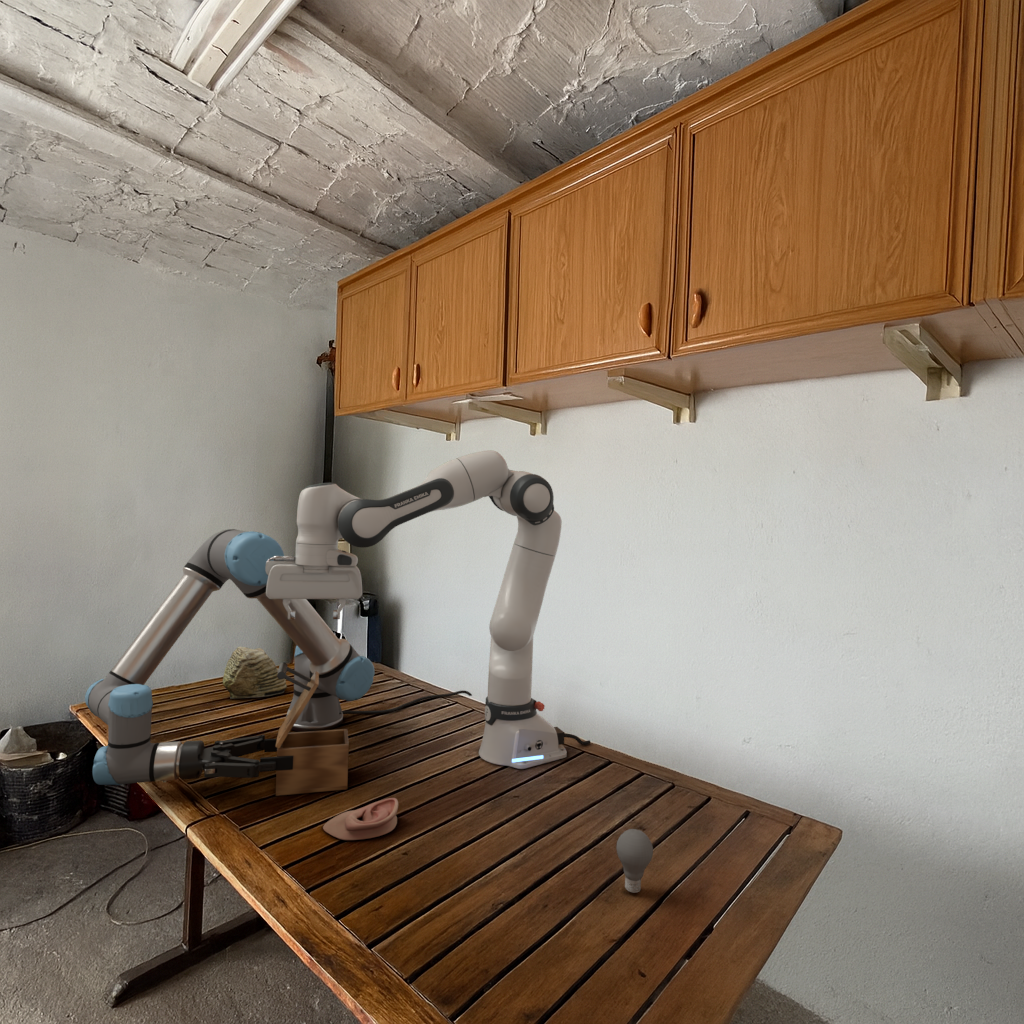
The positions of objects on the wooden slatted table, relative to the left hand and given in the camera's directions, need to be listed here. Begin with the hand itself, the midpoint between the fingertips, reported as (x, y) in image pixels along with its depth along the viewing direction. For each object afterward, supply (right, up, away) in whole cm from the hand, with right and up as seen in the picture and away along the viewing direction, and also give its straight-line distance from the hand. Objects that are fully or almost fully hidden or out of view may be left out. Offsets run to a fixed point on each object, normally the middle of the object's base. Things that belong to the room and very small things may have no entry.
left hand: (294, 752), depth 139 cm
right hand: (+4, +29, 0) cm, 30 cm away
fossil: (-33, -4, +59) cm, 68 cm away
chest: (+4, -7, +1) cm, 8 cm away
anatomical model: (+19, -8, -16) cm, 26 cm away
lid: (+1, +10, 0) cm, 10 cm away
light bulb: (+68, -11, -33) cm, 76 cm away
